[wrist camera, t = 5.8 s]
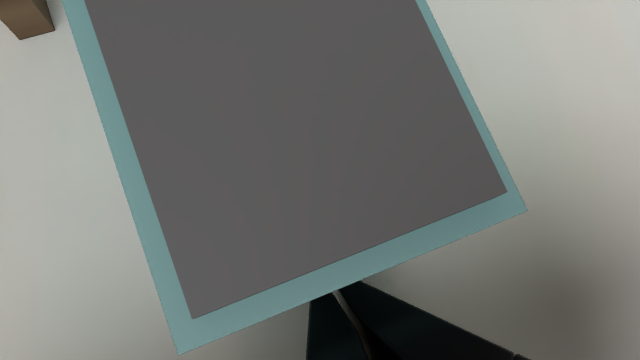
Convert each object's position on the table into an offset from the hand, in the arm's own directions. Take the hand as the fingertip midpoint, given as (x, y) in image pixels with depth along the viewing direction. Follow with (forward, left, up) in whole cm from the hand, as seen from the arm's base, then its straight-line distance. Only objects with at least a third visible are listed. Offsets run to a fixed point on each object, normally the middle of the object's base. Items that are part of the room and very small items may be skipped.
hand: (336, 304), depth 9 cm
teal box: (+4, -6, -7) cm, 10 cm away
